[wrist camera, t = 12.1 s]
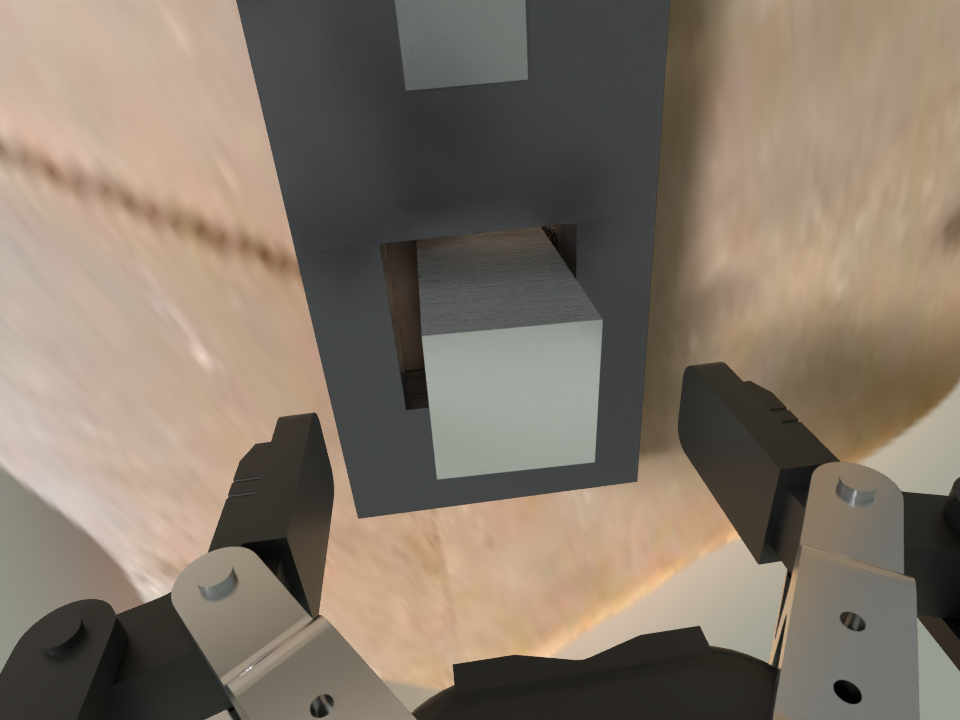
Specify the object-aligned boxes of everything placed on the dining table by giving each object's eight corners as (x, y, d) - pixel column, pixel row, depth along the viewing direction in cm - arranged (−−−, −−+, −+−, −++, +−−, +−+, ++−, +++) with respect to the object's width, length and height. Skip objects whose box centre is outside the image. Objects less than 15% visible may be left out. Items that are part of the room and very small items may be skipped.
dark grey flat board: (362, 472, 23) (358, 520, 21) (210, -222, 14) (171, -271, 11) (616, 440, 24) (637, 483, 22) (646, -249, 14) (692, -301, 12)
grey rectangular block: (427, 347, 21) (436, 479, 15) (416, 237, 19) (421, 336, 13) (540, 337, 21) (594, 462, 15) (541, 226, 19) (602, 319, 13)
